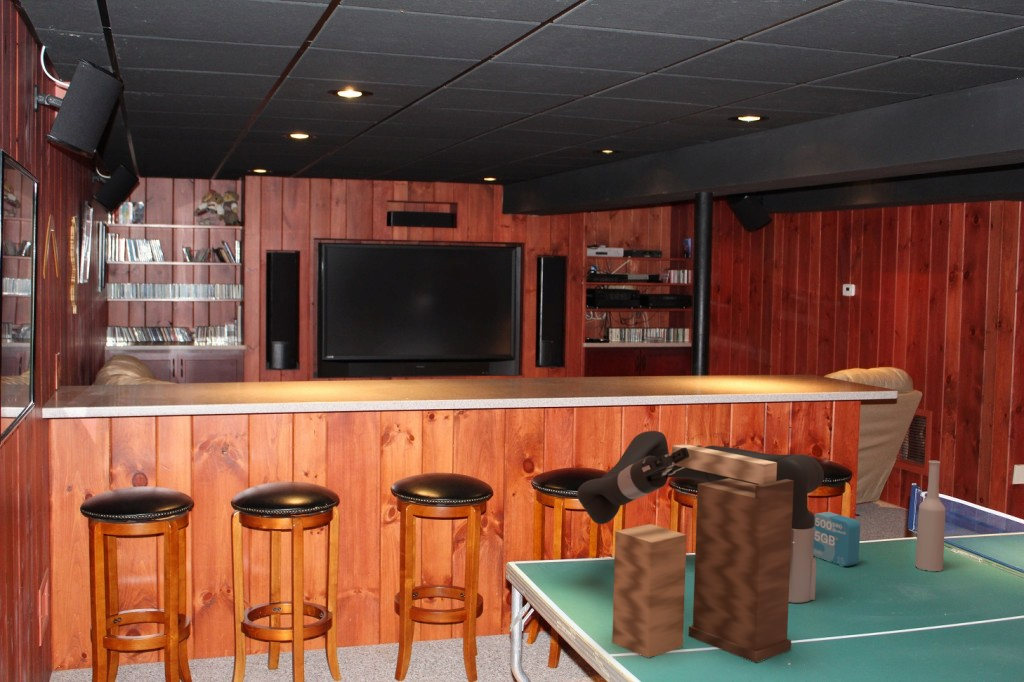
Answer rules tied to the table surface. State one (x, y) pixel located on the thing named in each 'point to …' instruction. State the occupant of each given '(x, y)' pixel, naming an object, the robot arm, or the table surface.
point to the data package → (836, 538)
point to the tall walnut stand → (743, 567)
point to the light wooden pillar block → (649, 589)
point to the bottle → (931, 525)
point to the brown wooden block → (728, 464)
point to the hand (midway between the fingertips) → (694, 450)
